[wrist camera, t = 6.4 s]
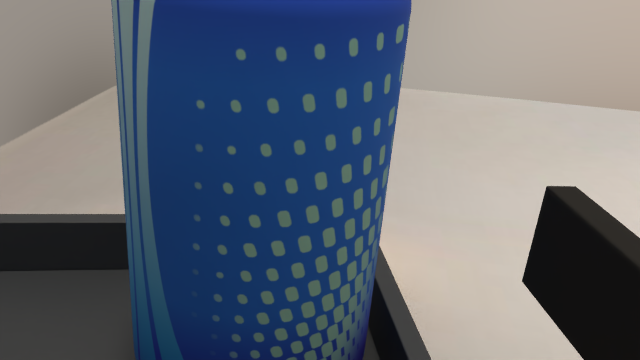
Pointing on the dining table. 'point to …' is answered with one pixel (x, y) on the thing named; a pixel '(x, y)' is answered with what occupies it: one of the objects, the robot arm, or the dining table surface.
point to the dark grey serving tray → (120, 293)
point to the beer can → (255, 171)
